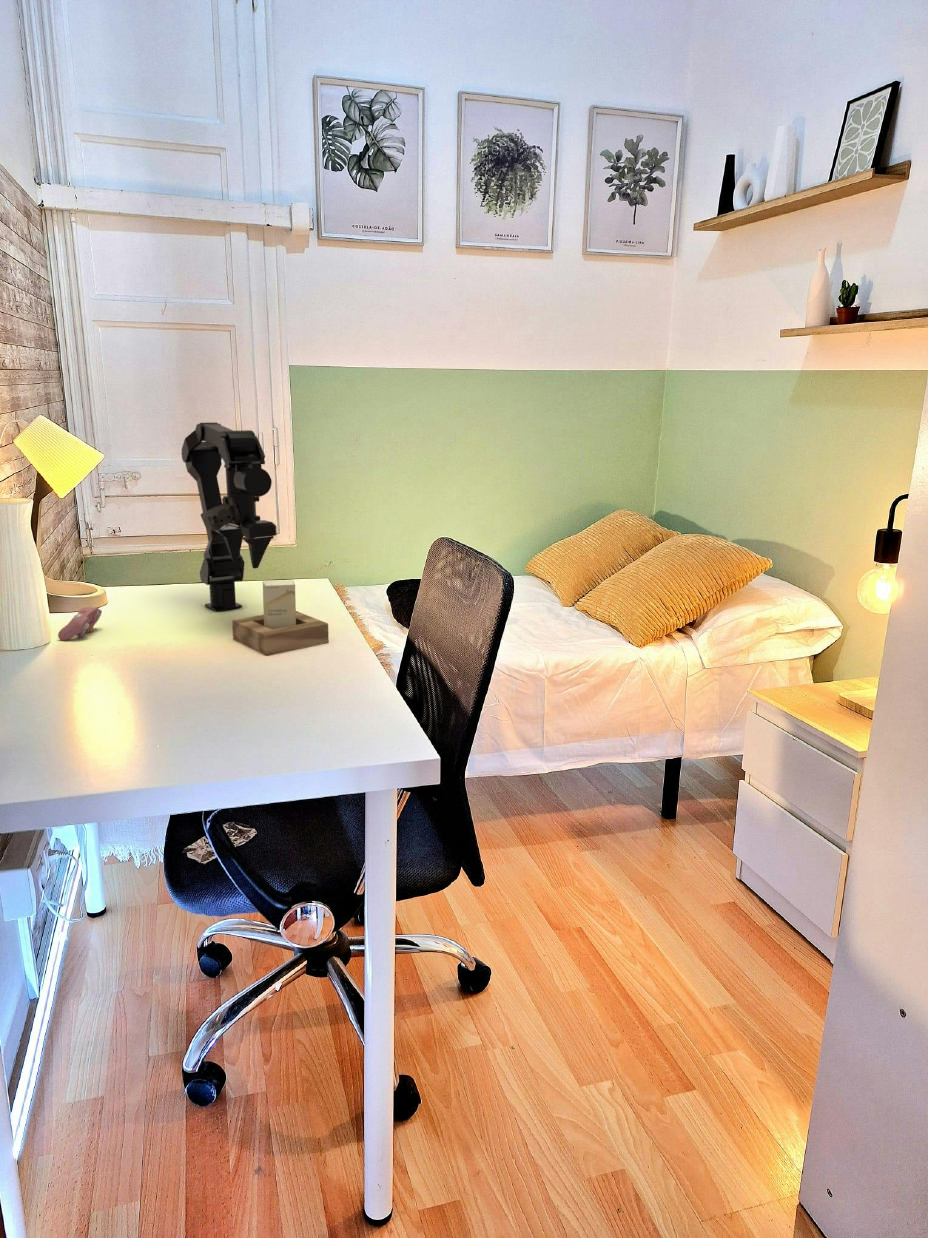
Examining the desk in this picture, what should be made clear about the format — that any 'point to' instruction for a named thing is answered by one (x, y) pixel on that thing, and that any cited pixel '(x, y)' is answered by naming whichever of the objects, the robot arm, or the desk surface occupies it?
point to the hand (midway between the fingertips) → (245, 564)
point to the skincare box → (279, 604)
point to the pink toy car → (80, 623)
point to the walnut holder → (280, 634)
